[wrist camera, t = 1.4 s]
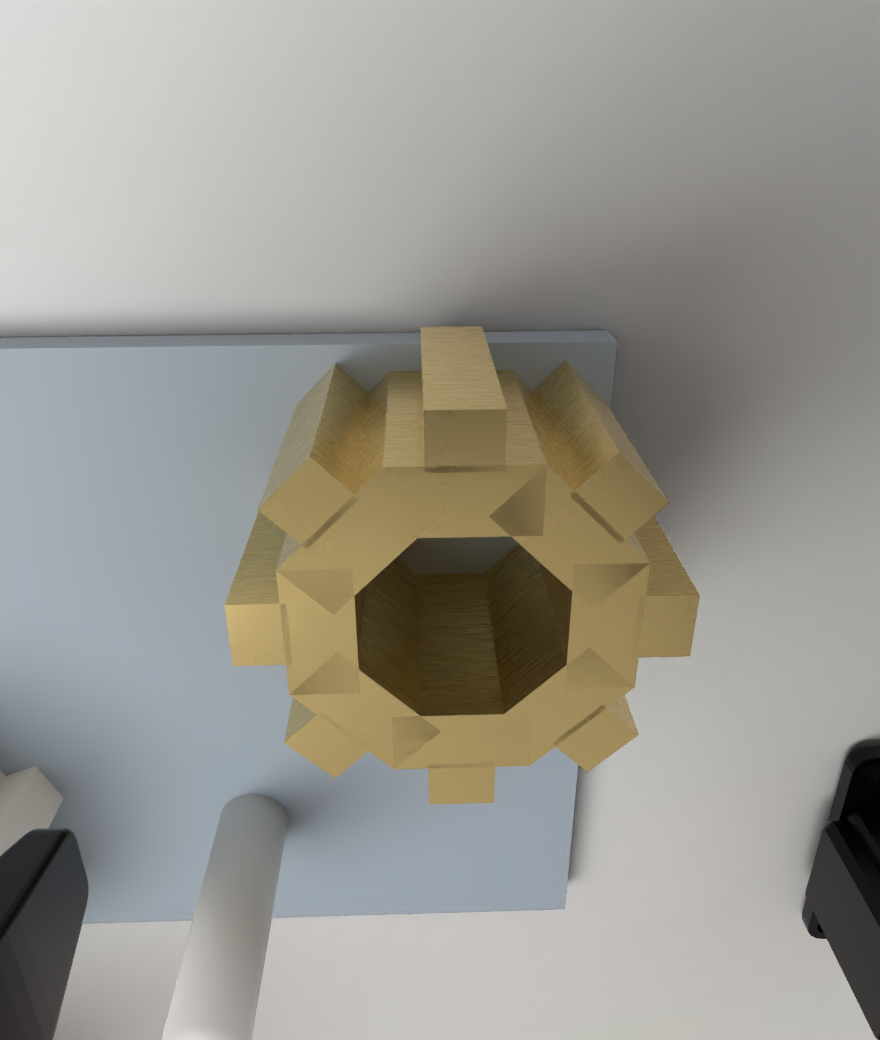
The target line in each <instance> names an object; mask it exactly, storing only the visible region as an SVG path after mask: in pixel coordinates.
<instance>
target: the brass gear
mask: <svg viewBox="0 0 880 1040" xmlns="http://www.w3.org/2000/svg"><path fill="white" fill-rule="evenodd" d="M420 336H421V371H389V372H388V373H387V375H386V376H385V377H384V378H383V379H382V380H381V381H380V382H379V383H378V384H377V385H376V386H375V387H374V388H373V389H372V390H371V391H370V392H369V393H368V392H367V391H366V390H365V389H364V388H363V387H362V386H361V385H359V384H358V383H357V382H356V381H355V380H354V379H353V378H352V377H351V376H350V375H348V374H347V373H346V372H345V371H344V370H343V369H342V368H341V367H340V366H339V365H337V364H336V363H335V364H334V365H333V367H332V368H331V369H330V370H329V371H328V372H327V373H326V374H325V375H324V376H323V377H322V378H321V379H320V380H319V381H318V382H317V383H316V384H315V385H314V386H313V388H312V389H311V390H310V391H309V392H308V393H307V394H306V395H305V396H304V397H303V398H302V399H301V400H300V401H299V402H298V403H297V404H296V406H295V409H294V412H293V415H292V417H291V420H290V423H289V425H288V428H287V431H286V434H285V436H284V439H283V442H282V444H281V447H280V450H279V453H278V455H277V458H276V461H275V464H274V466H273V469H272V472H271V474H270V477H269V480H268V483H267V485H266V488H265V491H264V494H263V496H262V499H261V502H260V504H259V507H258V514H257V517H256V520H255V522H254V525H253V528H252V531H251V533H250V536H249V539H248V542H247V544H246V547H245V550H244V553H243V555H242V558H241V561H240V564H239V566H238V569H237V572H236V575H235V577H234V580H233V583H232V586H231V588H230V591H229V594H228V597H227V599H226V602H225V612H226V620H227V627H228V634H229V641H230V648H231V655H232V662H233V666H268V665H286V670H287V680H288V689H289V695H290V696H291V697H293V699H292V705H291V710H290V715H289V720H288V725H287V730H286V735H285V741H284V744H286V745H287V746H289V747H290V748H292V749H293V750H295V751H296V752H297V753H299V754H300V755H302V756H303V757H305V758H306V759H308V760H309V761H311V762H312V763H314V764H315V765H316V766H318V767H319V768H321V769H322V770H324V771H325V772H327V773H328V774H330V775H331V776H333V777H334V778H335V779H336V778H337V777H338V776H339V775H340V774H342V773H343V772H344V771H345V770H346V769H348V768H349V767H350V766H351V765H352V764H354V763H355V762H356V761H357V760H359V759H360V758H361V757H362V756H363V755H365V754H366V753H367V752H368V751H369V752H370V753H371V754H373V755H374V756H376V757H377V758H379V759H380V760H381V761H383V762H384V763H386V764H387V765H388V766H390V767H391V768H393V769H394V770H395V769H428V784H429V805H433V804H471V803H494V791H495V767H514V766H530V765H532V764H533V763H534V762H536V761H537V760H538V759H540V758H541V757H542V756H544V755H545V754H546V753H548V752H549V751H550V750H552V749H553V748H554V747H556V748H558V749H559V750H560V751H561V752H563V753H564V754H565V755H566V756H568V757H569V758H570V759H571V760H573V761H574V762H575V763H576V764H578V765H579V766H580V767H581V768H583V769H584V770H585V771H586V772H588V771H590V770H591V769H592V768H594V767H595V766H596V765H598V764H599V763H601V762H602V761H603V760H605V759H606V758H607V757H609V756H610V755H611V754H613V753H614V752H616V751H617V750H618V749H620V748H621V747H622V746H624V745H625V744H627V743H628V742H629V741H631V740H632V739H633V738H635V737H636V736H637V735H639V734H638V731H637V729H636V726H635V723H634V720H633V717H632V715H631V712H630V709H629V706H628V703H627V700H626V698H625V694H626V693H627V692H629V691H630V690H631V689H633V688H634V687H635V680H636V672H637V664H638V657H679V656H690V652H691V646H692V639H693V633H694V627H695V621H696V614H697V608H698V602H699V594H698V592H697V590H696V589H695V587H694V585H693V583H692V582H691V580H690V578H689V576H688V575H687V573H686V571H685V569H684V568H683V566H682V564H681V562H680V561H679V559H678V557H677V555H676V554H675V552H674V550H673V549H672V547H671V545H670V543H669V542H668V540H667V538H666V536H665V535H664V533H663V531H662V529H661V528H660V526H659V524H658V522H657V521H656V519H655V517H654V515H655V514H656V513H658V512H659V511H660V510H661V509H662V508H664V507H665V506H666V505H667V504H668V503H669V502H668V500H667V499H666V497H665V495H664V494H663V492H662V491H661V489H660V487H659V486H658V484H657V483H656V481H655V479H654V478H653V476H652V475H651V473H650V472H649V470H648V468H647V467H646V465H645V464H644V462H643V460H642V459H641V457H640V456H639V454H638V452H637V451H636V449H635V448H634V446H633V445H632V443H631V441H630V440H629V438H628V437H627V435H626V433H625V432H624V430H623V429H622V427H621V425H620V424H619V422H618V421H617V419H616V418H615V416H614V414H613V413H612V411H611V410H610V408H609V406H608V405H607V403H606V402H605V400H604V399H603V398H602V397H601V396H600V395H599V394H598V393H597V392H596V391H595V390H594V389H593V388H592V387H591V386H590V385H589V384H588V383H587V382H586V381H585V380H584V378H583V377H582V376H581V375H580V374H579V373H578V372H577V371H576V370H575V369H574V368H573V367H572V366H571V365H570V364H569V363H568V362H567V361H566V360H565V361H564V362H563V363H562V364H561V365H560V366H559V367H558V368H557V369H556V370H555V371H554V372H553V373H552V374H550V375H549V376H548V377H547V378H546V379H545V380H544V381H543V382H542V383H541V384H540V385H539V386H538V387H537V388H535V389H534V390H532V389H531V388H530V387H529V386H528V385H527V384H526V383H525V382H524V381H523V380H522V379H521V378H520V377H519V376H518V375H517V374H516V373H515V372H514V371H513V370H495V367H494V363H493V360H492V357H491V354H490V350H489V347H488V344H487V341H486V337H485V334H484V331H483V327H482V326H467V327H420ZM508 536H511V537H512V538H513V539H514V540H516V541H517V542H518V544H516V545H515V546H514V547H513V548H512V549H511V550H509V551H508V552H507V553H506V554H505V555H504V556H503V557H501V558H500V559H499V560H498V561H497V562H496V563H494V564H493V565H492V566H491V567H490V568H489V569H488V570H486V571H485V572H484V573H480V574H428V575H418V574H417V573H416V572H415V571H413V570H412V569H411V568H410V567H409V566H407V565H406V564H405V563H404V562H403V561H401V560H400V559H399V558H398V557H397V556H399V555H400V554H401V553H402V552H403V551H404V550H405V549H406V548H407V547H408V546H409V545H411V544H412V543H413V542H414V541H415V540H416V539H417V538H453V537H508Z"/></svg>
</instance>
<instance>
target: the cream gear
mask: <svg viewBox="0 0 880 1040" xmlns="http://www.w3.org/2000/svg"><path fill="white" fill-rule="evenodd" d="M62 800H63V797H62V796H61V794H60V793H59V792H58V791H57V790H56V789H55V787H54V786H53V785H52V784H51V783H50V782H49V780H48V779H47V778H46V777H45V776H44V774H43V773H42V772H41V771H40V770H39V769H38V767H37V766H36V765H35V766H33V767H30V768H27V769H25V770H22V771H19V772H16V773H14V774H11V775H8V776H5V774H4V773H3V772H2V771H1V770H0V856H1V855H2V854H3V853H4V852H5V851H6V850H7V849H9V848H10V847H11V846H12V845H13V844H14V843H16V842H17V841H18V840H19V839H20V838H21V837H22V836H24V835H25V834H26V833H28V832H29V831H31V830H34V829H39V828H49V826H50V824H51V822H52V820H53V818H54V816H55V814H56V812H57V810H58V808H59V806H60V804H61V802H62Z"/></svg>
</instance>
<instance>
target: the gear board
mask: <svg viewBox="0 0 880 1040" xmlns="http://www.w3.org/2000/svg"><path fill="white" fill-rule="evenodd" d="M484 334H485V337H486V341H487V344H488V347H489V350H490V354H491V357H492V360H493V363H494V367H495V370H513V371H514V372H515V373H516V374H517V375H518V376H519V377H520V378H521V379H522V380H523V381H524V382H525V383H526V384H527V385H528V386H529V387H530V388H531V389H532V390H534V389H535V388H537V387H538V386H539V385H540V384H541V383H542V382H543V381H544V380H545V379H546V378H547V377H548V376H549V375H550V374H552V373H553V372H554V371H555V370H556V369H557V368H558V367H559V366H560V365H561V364H562V363H563V362H564V361H565V360H566V361H567V362H568V363H569V364H570V365H571V366H572V367H573V368H574V369H575V370H576V371H577V372H578V373H579V374H580V375H581V376H582V377H583V378H584V380H585V381H586V382H587V383H588V384H589V385H590V386H591V387H592V388H593V389H594V390H595V391H596V392H597V393H598V394H599V395H600V396H601V397H602V398H603V399H604V400H605V402H606V403H607V405H608V406H609V408H610V410H611V405H612V394H613V384H614V373H615V362H616V351H617V340H616V339H615V338H614V337H613V335H612V334H611V333H610V332H609V331H608V330H579V331H494V332H484ZM335 363H336V364H337V365H339V366H340V367H341V368H342V369H343V370H344V371H345V372H346V373H347V374H348V375H350V376H351V377H352V378H353V379H354V380H355V381H356V382H357V383H358V384H359V385H361V386H362V387H363V388H364V389H365V390H366V391H367V392H368V393H369V392H370V391H371V390H372V389H373V388H374V387H375V386H376V385H377V384H378V383H379V382H380V381H381V380H382V379H383V378H384V377H385V376H386V375H387V373H388V372H389V371H421V336H420V332H409V333H324V334H240V335H155V336H70V337H0V770H1V771H2V772H3V773H4V774H5V776H8V775H11V774H14V773H16V772H19V771H22V770H25V769H27V768H30V767H33V766H35V765H36V766H37V767H38V769H39V770H40V771H41V772H42V773H43V774H44V776H45V777H46V778H47V779H48V780H49V782H50V783H51V784H52V785H53V786H54V787H55V789H56V790H57V791H58V792H59V793H60V794H61V796H62V797H63V800H62V802H61V804H60V806H59V808H58V810H57V812H56V814H55V816H54V818H53V820H52V822H51V824H50V826H49V828H68V829H71V830H72V831H73V832H74V833H75V836H76V838H77V842H78V845H79V849H80V853H81V856H82V860H83V863H84V867H85V871H86V874H87V878H88V885H89V894H88V902H87V906H86V910H85V914H84V918H83V922H82V924H83V923H117V922H151V921H184V920H193V921H192V925H191V929H190V933H189V937H188V940H187V944H186V948H185V952H184V956H183V959H182V963H181V967H180V971H179V975H178V978H177V982H176V986H175V990H174V994H173V997H172V1001H171V1005H170V1009H169V1012H168V1016H167V1020H166V1024H165V1028H164V1031H163V1035H162V1039H161V1040H251V1038H252V1032H253V1026H254V1020H255V1014H256V1008H257V1002H258V997H259V991H260V985H261V979H262V973H263V967H264V961H265V955H266V949H267V943H268V937H269V931H270V925H271V919H272V918H286V917H320V916H353V915H387V914H421V913H455V912H489V911H522V910H556V909H565V904H566V893H567V882H568V871H569V860H570V849H571V839H572V828H573V817H574V806H575V795H576V784H577V774H578V764H576V763H575V762H574V761H573V760H571V759H570V758H569V757H568V756H566V755H565V754H564V753H563V752H561V751H560V750H559V749H558V748H556V747H554V748H553V749H552V750H550V751H549V752H548V753H546V754H545V755H544V756H542V757H541V758H540V759H538V760H537V761H536V762H534V763H533V764H532V765H530V766H514V767H495V791H494V803H471V804H433V805H429V784H428V769H395V770H394V769H393V768H391V767H390V766H388V765H387V764H386V763H384V762H383V761H381V760H380V759H379V758H377V757H376V756H374V755H373V754H371V753H370V752H369V751H368V752H367V753H366V754H365V755H363V756H362V757H361V758H360V759H359V760H357V761H356V762H355V763H354V764H352V765H351V766H350V767H349V768H348V769H346V770H345V771H344V772H343V773H342V774H340V775H339V776H338V777H337V778H336V779H335V778H334V777H333V776H331V775H330V774H328V773H327V772H325V771H324V770H322V769H321V768H319V767H318V766H316V765H315V764H314V763H312V762H311V761H309V760H308V759H306V758H305V757H303V756H302V755H300V754H299V753H297V752H296V751H295V750H293V749H292V748H290V747H289V746H287V745H286V744H284V741H285V735H286V730H287V725H288V720H289V715H290V710H291V705H292V699H293V697H291V696H290V695H289V689H288V680H287V670H286V665H268V666H233V662H232V655H231V648H230V641H229V634H228V627H227V620H226V612H225V602H226V599H227V597H228V594H229V591H230V588H231V586H232V583H233V580H234V577H235V575H236V572H237V569H238V566H239V564H240V561H241V558H242V555H243V553H244V550H245V547H246V544H247V542H248V539H249V536H250V533H251V531H252V528H253V525H254V522H255V520H256V517H257V514H258V507H259V504H260V502H261V499H262V496H263V494H264V491H265V488H266V485H267V483H268V480H269V477H270V474H271V472H272V469H273V466H274V464H275V461H276V458H277V455H278V453H279V450H280V447H281V444H282V442H283V439H284V436H285V434H286V431H287V428H288V425H289V423H290V420H291V417H292V415H293V412H294V409H295V406H296V404H297V403H298V402H299V401H300V400H301V399H302V398H303V397H304V396H305V395H306V394H307V393H308V392H309V391H310V390H311V389H312V388H313V386H314V385H315V384H316V383H317V382H318V381H319V380H320V379H321V378H322V377H323V376H324V375H325V374H326V373H327V372H328V371H329V370H330V369H331V368H332V367H333V365H334V364H335ZM516 544H518V542H517V541H516V540H514V539H513V538H512V537H511V536H508V537H453V538H417V539H416V540H415V541H414V542H413V543H412V544H411V545H409V546H408V547H407V548H406V549H405V550H404V551H403V552H402V553H401V554H400V555H399V556H397V557H398V558H399V559H400V560H401V561H403V562H404V563H405V564H406V565H407V566H409V567H410V568H411V569H412V570H413V571H415V572H416V573H417V574H418V575H428V574H480V573H484V572H485V571H486V570H488V569H489V568H490V567H491V566H492V565H493V564H494V563H496V562H497V561H498V560H499V559H500V558H501V557H503V556H504V555H505V554H506V553H507V552H508V551H509V550H511V549H512V548H513V547H514V546H515V545H516Z"/></svg>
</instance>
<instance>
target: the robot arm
mask: <svg viewBox="0 0 880 1040" xmlns="http://www.w3.org/2000/svg"><path fill="white" fill-rule="evenodd" d="M870 766H871V767H870ZM868 767H870V768H868ZM866 768H868V769H866ZM88 894H89V885H88V878H87V874H86V871H85V867H84V863H83V860H82V856H81V853H80V849H79V845H78V842H77V838H76V836H75V833H74V832H73V831H72V830H71V829H68V828H39V829H34V830H31V831H29V832H28V833H26V834H25V835H24V836H22V837H21V838H20V839H19V840H18V841H17V842H16V843H14V844H13V845H12V846H11V847H10V848H9V849H7V850H6V851H5V852H4V853H3V854H2V855H1V856H0V1040H53V1037H54V1033H55V1029H56V1026H57V1022H58V1018H59V1014H60V1010H61V1006H62V1002H63V998H64V994H65V990H66V986H67V982H68V978H69V974H70V970H71V966H72V962H73V958H74V954H75V950H76V946H77V942H78V938H79V934H80V930H81V926H82V922H83V918H84V914H85V910H86V906H87V902H88ZM806 897H807V899H806V902H805V906H804V909H803V913H802V920H803V922H804V924H805V926H806V928H807V930H808V932H809V933H810V935H811V936H813V937H815V938H821V939H827V940H828V942H829V944H830V946H831V948H832V950H833V952H834V954H835V956H836V958H837V960H838V962H839V964H840V966H841V968H842V970H843V973H844V975H845V977H846V979H847V981H848V983H849V985H850V987H851V989H852V991H853V993H854V995H855V997H856V999H857V1001H858V1003H859V1005H860V1007H861V1009H862V1011H863V1013H864V1015H865V1017H866V1019H867V1021H868V1023H869V1025H870V1027H871V1029H872V1031H873V1034H874V1036H875V1037H876V1038H877V1039H878V1040H880V746H868V747H862V748H859V749H857V750H855V751H853V752H852V753H851V754H850V755H849V756H848V757H847V759H846V761H845V763H844V766H843V770H842V773H841V777H840V781H839V784H838V788H837V791H836V795H835V798H834V802H833V806H832V809H831V813H830V816H829V820H828V823H827V825H826V826H825V828H824V829H823V831H822V835H821V839H820V842H819V846H818V849H817V853H816V857H815V860H814V864H813V868H812V871H811V875H810V878H809V882H808V886H807V889H806Z"/></svg>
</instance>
